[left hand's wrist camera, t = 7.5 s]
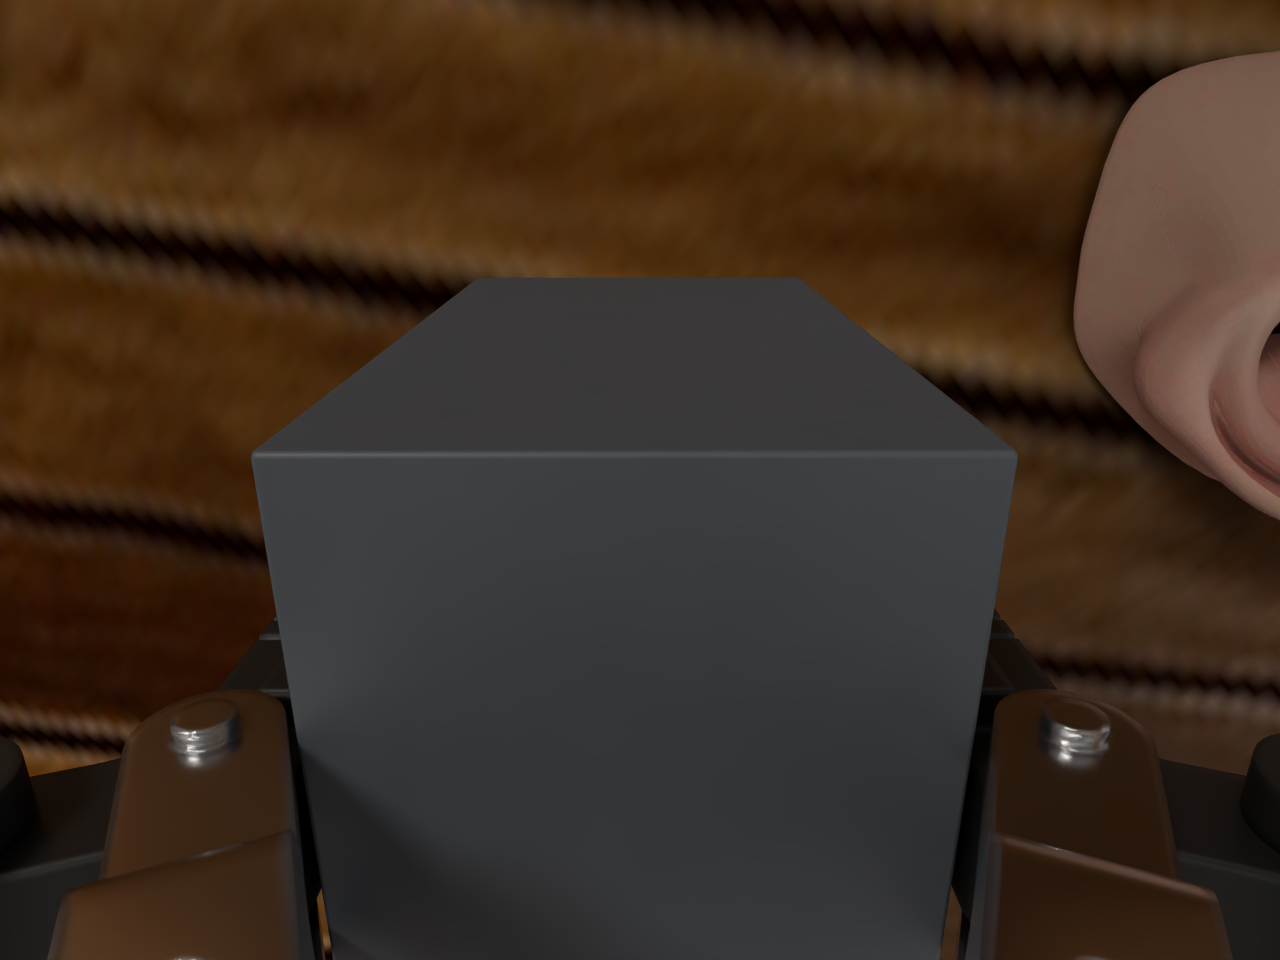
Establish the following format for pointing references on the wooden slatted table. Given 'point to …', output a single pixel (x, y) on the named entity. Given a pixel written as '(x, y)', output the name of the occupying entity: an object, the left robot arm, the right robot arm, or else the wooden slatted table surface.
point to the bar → (635, 628)
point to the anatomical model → (1193, 272)
